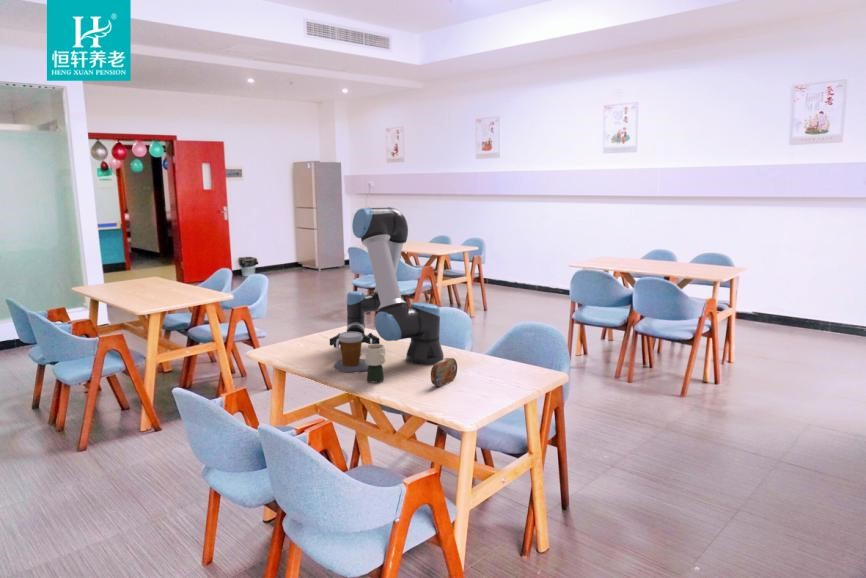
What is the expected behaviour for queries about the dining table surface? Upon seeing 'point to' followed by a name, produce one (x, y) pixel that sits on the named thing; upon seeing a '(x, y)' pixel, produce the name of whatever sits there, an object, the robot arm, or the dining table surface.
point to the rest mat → (359, 368)
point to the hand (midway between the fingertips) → (354, 347)
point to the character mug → (375, 362)
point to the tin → (443, 372)
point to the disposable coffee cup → (350, 347)
